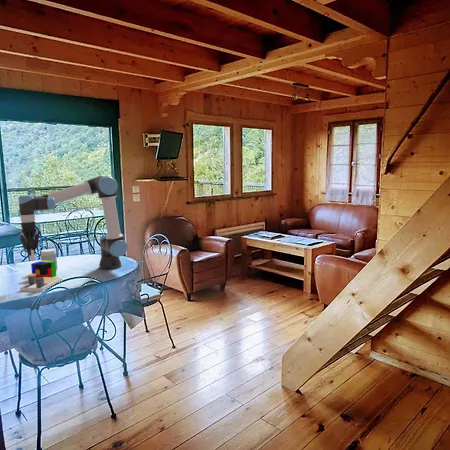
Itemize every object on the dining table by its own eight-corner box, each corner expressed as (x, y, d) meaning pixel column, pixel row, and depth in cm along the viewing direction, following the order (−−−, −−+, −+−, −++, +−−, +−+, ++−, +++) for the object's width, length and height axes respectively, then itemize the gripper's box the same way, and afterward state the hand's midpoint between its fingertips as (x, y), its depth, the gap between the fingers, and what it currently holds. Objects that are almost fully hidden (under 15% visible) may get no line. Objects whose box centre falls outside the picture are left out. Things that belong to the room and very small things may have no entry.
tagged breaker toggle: (36, 282, 230) (36, 273, 230) (33, 283, 227) (32, 275, 226) (31, 282, 231) (31, 273, 230) (28, 283, 228) (27, 275, 227)
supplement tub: (58, 271, 264) (57, 250, 262) (43, 273, 259) (41, 252, 256) (56, 268, 272) (54, 248, 270) (41, 270, 267) (39, 250, 264)
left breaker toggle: (44, 285, 224) (43, 277, 224) (41, 286, 221) (40, 279, 221) (39, 285, 225) (38, 277, 224) (36, 286, 222) (35, 279, 221)
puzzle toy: (32, 278, 247) (31, 263, 246) (44, 274, 256) (43, 260, 255) (44, 280, 244) (43, 265, 242) (56, 276, 253) (55, 261, 251)
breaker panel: (62, 280, 241) (61, 277, 241) (43, 291, 221) (42, 287, 220) (41, 280, 243) (40, 277, 242) (20, 291, 222) (19, 287, 222)
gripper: (34, 219, 234) (38, 257, 237) (13, 222, 223) (18, 262, 226) (42, 220, 230) (46, 258, 234) (21, 223, 219) (25, 263, 223)
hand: (32, 260), depth 230 cm, fingers closed
